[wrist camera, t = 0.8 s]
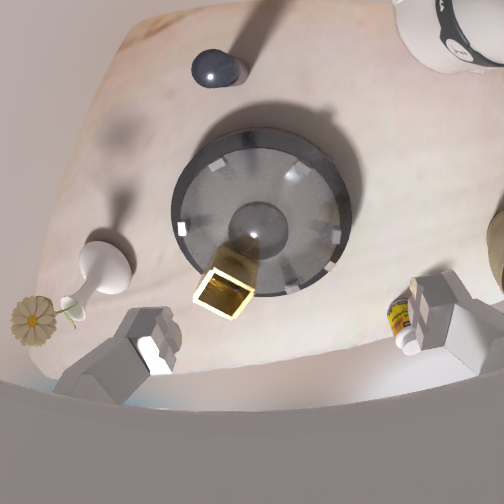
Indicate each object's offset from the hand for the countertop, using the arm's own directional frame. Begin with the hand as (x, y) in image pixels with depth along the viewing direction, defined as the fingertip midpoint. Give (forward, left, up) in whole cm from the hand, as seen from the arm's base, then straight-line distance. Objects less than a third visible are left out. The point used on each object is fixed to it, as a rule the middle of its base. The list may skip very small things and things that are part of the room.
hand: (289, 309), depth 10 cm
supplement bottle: (+14, +36, -37) cm, 53 cm away
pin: (-4, -10, -37) cm, 39 cm away
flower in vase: (+36, -16, -37) cm, 55 cm away
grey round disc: (+13, +3, -33) cm, 35 cm away
